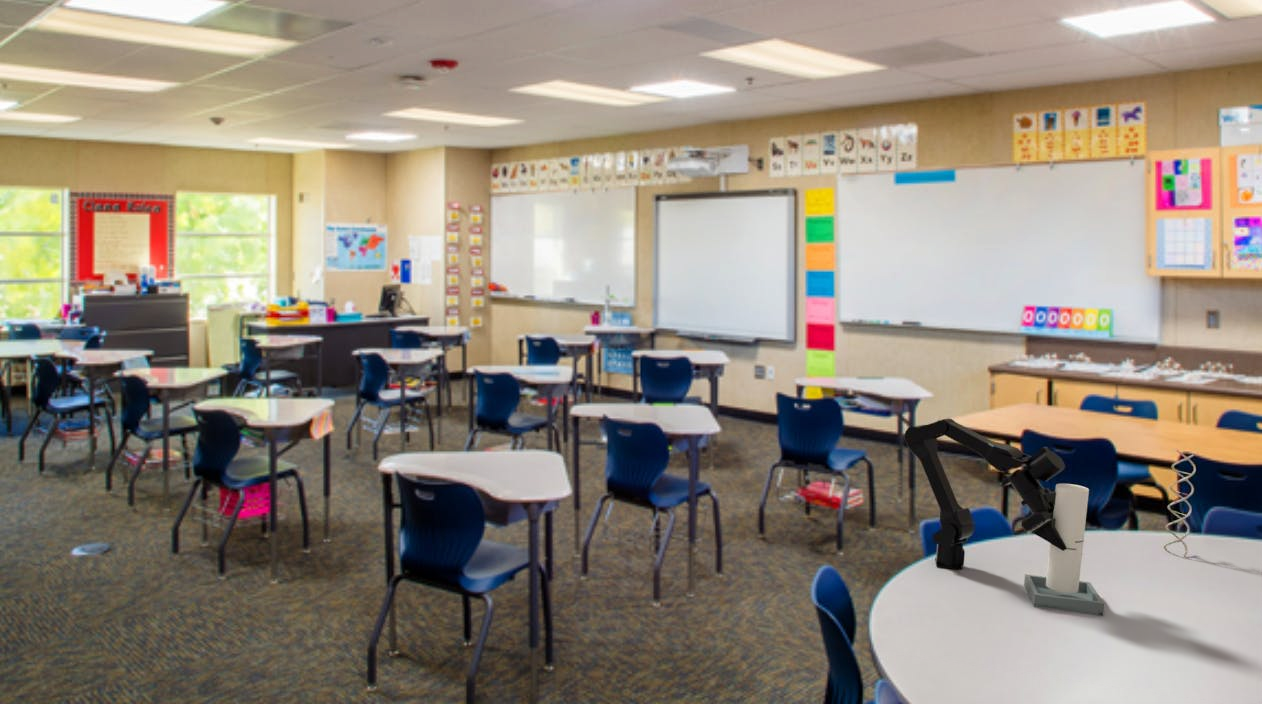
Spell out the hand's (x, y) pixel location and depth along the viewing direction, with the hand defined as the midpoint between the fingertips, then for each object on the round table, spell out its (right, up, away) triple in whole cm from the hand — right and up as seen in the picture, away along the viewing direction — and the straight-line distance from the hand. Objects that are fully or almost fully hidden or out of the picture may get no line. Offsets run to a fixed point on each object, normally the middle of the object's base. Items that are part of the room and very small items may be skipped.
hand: (1071, 547), depth 214 cm
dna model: (+52, -12, +44) cm, 69 cm away
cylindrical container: (-1, -11, +2) cm, 11 cm away
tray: (-1, -13, +2) cm, 14 cm away
